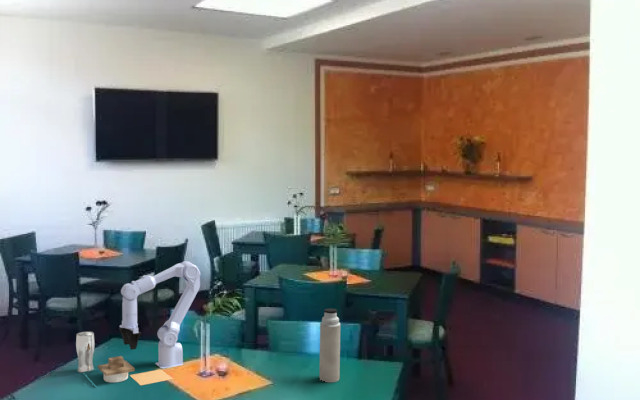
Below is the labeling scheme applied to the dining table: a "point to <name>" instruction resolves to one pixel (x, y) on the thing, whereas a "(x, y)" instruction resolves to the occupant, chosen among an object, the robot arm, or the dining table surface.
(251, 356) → the dining table surface
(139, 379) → the mat
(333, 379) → the thermos bottle
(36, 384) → the dining table surface
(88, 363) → the beer glass
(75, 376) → the dining table surface
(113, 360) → the lid
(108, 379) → the bowl
